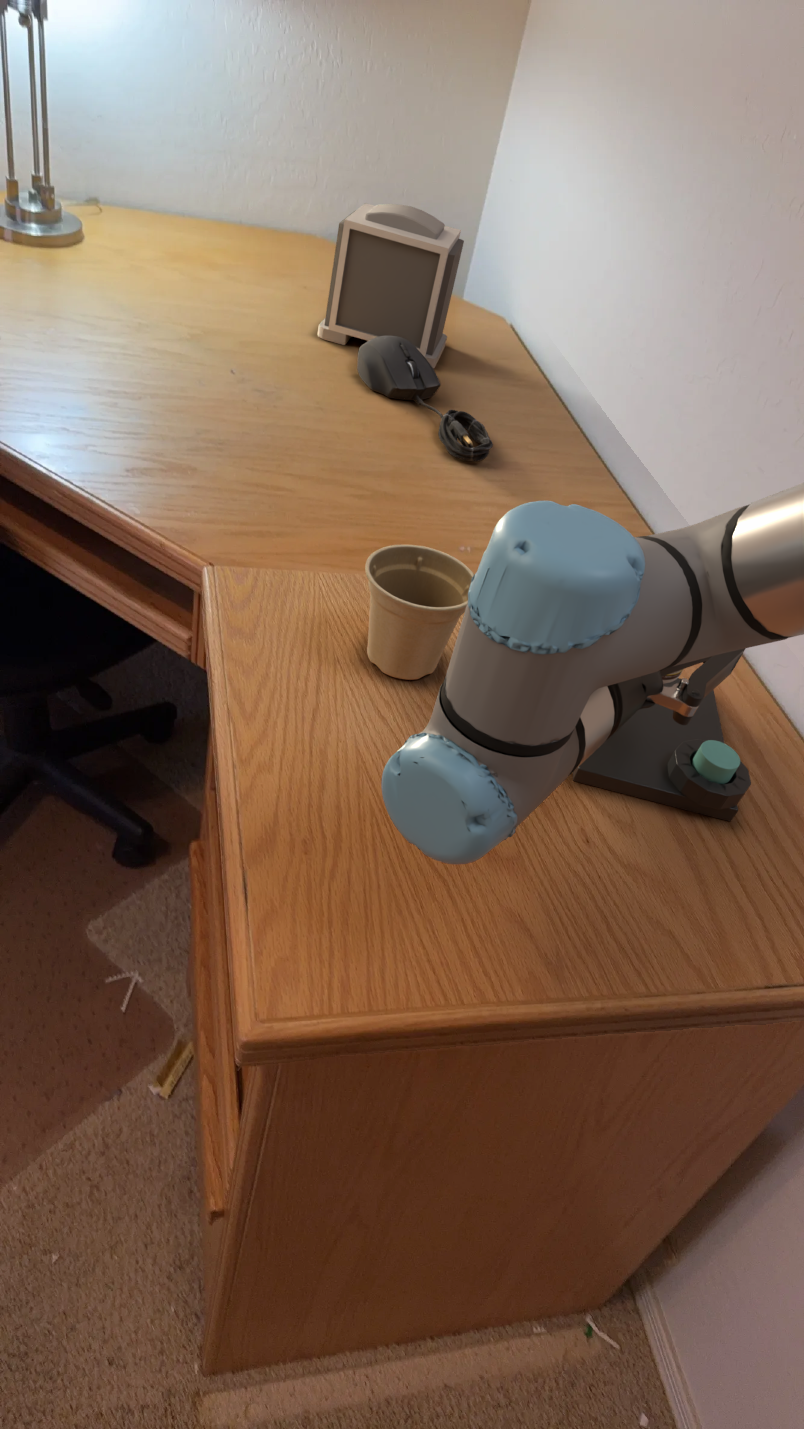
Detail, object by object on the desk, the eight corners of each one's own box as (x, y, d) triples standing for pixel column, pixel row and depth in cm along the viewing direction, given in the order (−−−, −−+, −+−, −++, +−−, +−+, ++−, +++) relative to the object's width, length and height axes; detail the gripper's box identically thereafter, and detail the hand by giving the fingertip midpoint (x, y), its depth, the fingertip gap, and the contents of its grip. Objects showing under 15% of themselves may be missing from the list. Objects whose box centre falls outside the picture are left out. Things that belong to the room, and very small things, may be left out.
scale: (738, 829, 69) (756, 803, 67) (572, 785, 69) (585, 758, 67) (712, 699, 82) (726, 675, 80) (572, 662, 81) (583, 637, 79)
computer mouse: (394, 361, 131) (402, 323, 127) (513, 465, 112) (525, 424, 108) (338, 360, 126) (344, 321, 123) (451, 468, 107) (462, 426, 104)
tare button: (733, 788, 68) (743, 773, 67) (693, 778, 68) (703, 762, 67) (727, 761, 71) (737, 745, 70) (689, 751, 71) (698, 735, 70)
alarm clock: (445, 344, 142) (475, 219, 130) (433, 370, 131) (464, 237, 120) (336, 313, 142) (356, 185, 130) (315, 336, 132) (334, 200, 120)
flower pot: (334, 627, 78) (350, 543, 72) (430, 623, 81) (452, 542, 76) (368, 697, 71) (388, 611, 66) (470, 688, 75) (498, 606, 70)
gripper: (440, 670, 63) (591, 571, 79) (666, 819, 56) (782, 678, 72) (467, 583, 58) (621, 495, 74) (718, 735, 51) (830, 603, 67)
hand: (700, 586), depth 73 cm, fingers closed on supplement bottle, 6 cm apart
